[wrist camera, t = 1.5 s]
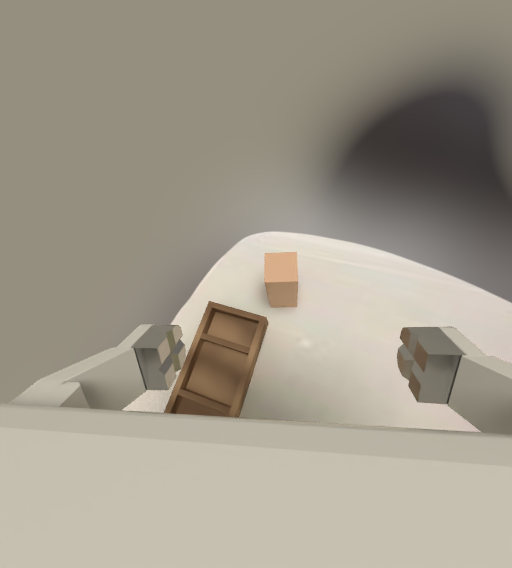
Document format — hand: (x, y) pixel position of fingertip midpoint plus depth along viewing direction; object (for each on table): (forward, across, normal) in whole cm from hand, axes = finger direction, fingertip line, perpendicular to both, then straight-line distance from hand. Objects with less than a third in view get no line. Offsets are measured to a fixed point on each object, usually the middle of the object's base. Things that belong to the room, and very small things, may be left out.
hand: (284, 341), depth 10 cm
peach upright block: (+29, -1, -11) cm, 31 cm away
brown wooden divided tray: (+20, -10, -20) cm, 30 cm away
